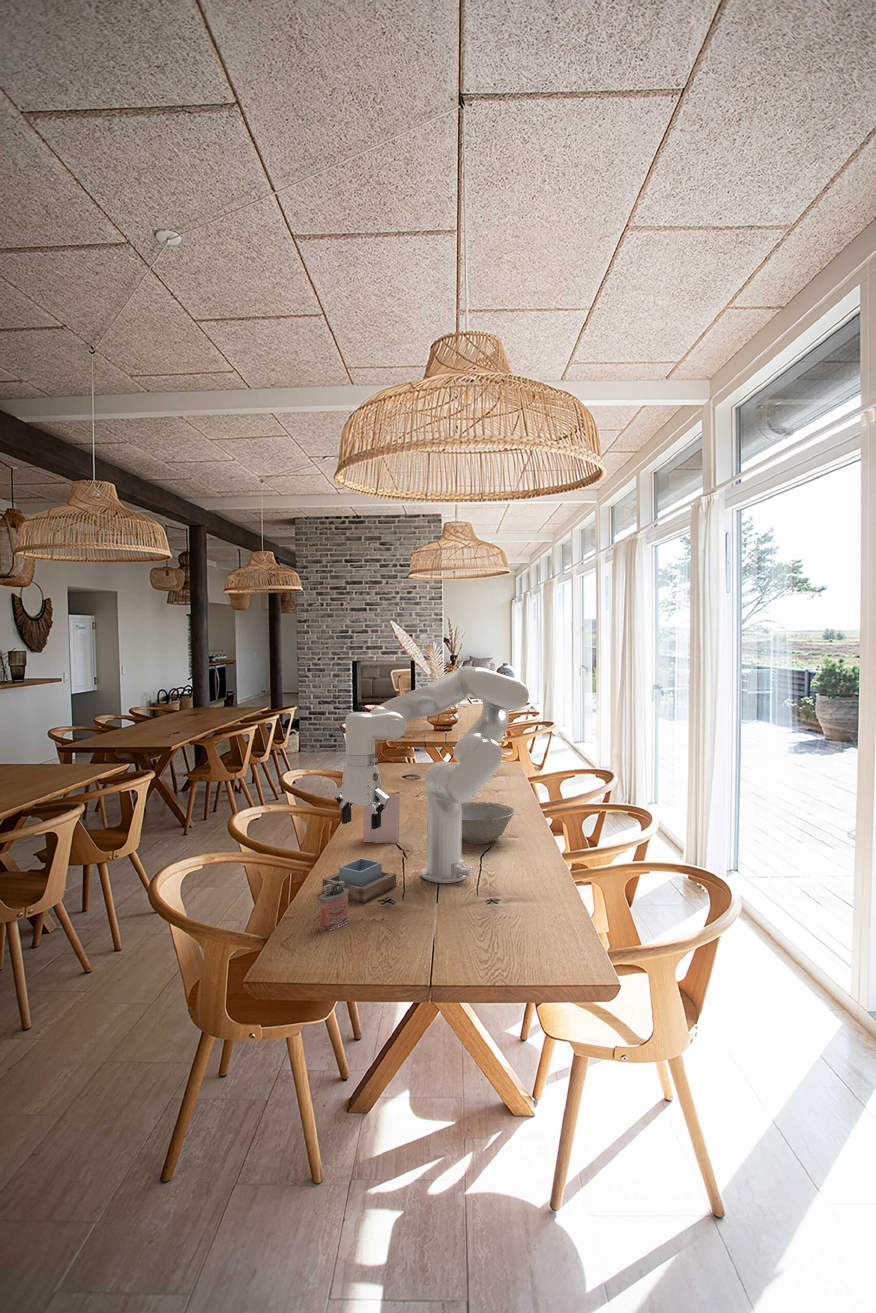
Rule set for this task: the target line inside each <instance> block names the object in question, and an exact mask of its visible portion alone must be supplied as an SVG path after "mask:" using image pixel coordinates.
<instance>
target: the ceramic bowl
mask: <svg viewBox="0 0 876 1313" xmlns="http://www.w3.org/2000/svg"><path fill="white" fill-rule="evenodd" d="M461 808H462V839H463V840H465V841H467V842H468V843H470V844H473V845H486V844H488V843H491V842H493V841H495V840H497V839H499V838H500V837H501V835H502V834H503V833H504V832H505V829H506V828H507V825H508V823H509V822H510V821H511V819H512V818H513V816H514V815H515V808H513V807H511V806H508V805H506V804H503V803H498V802H489V801H487V802H486V801H479V802H477V801H471V802H470V801H468V802H466V803H462V804H461Z"/></svg>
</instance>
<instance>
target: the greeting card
mask: <svg viewBox="0 0 876 1313" xmlns="http://www.w3.org/2000/svg"><path fill="white" fill-rule="evenodd" d="M384 794H385V795H387V796H388V797H389V801H388V803H387V806H386V808H385V809H384V810H383V812H381V827H379V828H377V829H372V828H371V815H372V814H373V812H372V810H371V808H370V807H369V806H365V805H363V818H362V819H363V821H362V822H363V827H362V828H363V830H362V831H363V832H362V833H363V835H362V836H363V837H362V838H363V842H374V843H381V844H383V843H385V844H386V843H387V844H388V843H389V844H390V843H391V844H393V843H395V844H396V843H397V844H399V843H400V795H394V794H389V793H384ZM379 803H380V804H381V802H379ZM375 807H376V806H375Z"/></svg>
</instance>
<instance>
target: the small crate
mask: <svg viewBox="0 0 876 1313" xmlns="http://www.w3.org/2000/svg"><path fill="white" fill-rule="evenodd" d="M382 866H383V865H382V862H380V861H376V860H372V859H368V858H363V857H360V858H357V859H354V860H353V861H350V862H348V863H346V864H343V865H342V866H341V865H340V866H338V872H339V881H344V883H346V884H350V885H354V886H358V887H363V886H365V885H367V884H369V883H371V882H373V881H375V880H378V879H380V878H382V871H383V870H382V868H383V867H382Z"/></svg>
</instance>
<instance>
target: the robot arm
mask: <svg viewBox="0 0 876 1313" xmlns="http://www.w3.org/2000/svg"><path fill="white" fill-rule="evenodd" d="M529 693H530V692H529V690H528V688H527V686H526V684H524V682H522V681H521V680H519V679H515V678H513V677H510V676H507V675H504V674H500V673H498V672H496V671H493V670H491V669H487V668H484V667H482V666H481V667H479V666H469V665H466V666H461V667H458V668H455V669H454V670H452V671H451V672H449V673H447V674H444V675H443V676H441V677H439V678H438V679H437V678H436V680H434V681H432V682H430V683H428V684H426V685H424V686H422V687H419V688H416V689H414V690H411V691H408V692H406V693H402V694H401V695H400V694H399V695H398V696H396V697H392V698H391V699H388V700H387V701H385V702H383V703H381V704H380V705H378V706H376V707H374V708H373V709H371V711H369V712H367V711H364V712H363V711H356V712H351V713H348V714H346V717H345V764H344V766H343V772H342V777H341V778H342V780H341V786H340V787H337V788H335V789H334V790H333V794H334V796H335V800H336V802H337V803H338V805H339V809H341V824H342V825H346V824H348V823H351V822H352V806H350V805H351V804H353V805H360V806H364V805H365V806H369V807H370V808H371V810H372V812H373V814H372V815H371V828H372V829H377V828H379V827H381V812H383V810H384V809H385V808H386V806H387V803H388V801H389V797H388V796H387V795H385V794H386V793H385V792H383V791H382V782H381V775H380V770H379V766H378V765H377V764H376V763H378V762H379V758H378V757H376V744H375V743H376V740H381V741H395V740H398V739H400V738H401V737H402V736H403V735H404V734H405V733H406V731H407V721H409V720H413V719H416V718H417V719H418V718H424V717H433V716H437V715H440V714H442V713H443V712H446V711H447V710H449V709H450V708H452V707H454V706H456V705H458V704H460V703H461V702H464V701H465V700H467V699H468V698H472V699H473V698H474V699H478V700H480V701H482V710H481V714H480V715H479V717H478V719H477V720H476V721H475V723H474V724H473V725H471V727H470V728H469V729H468V730H467V731H466V732H465V734H464V735H463V736H461V738H460V739H459V740H458V741H457V742H456V744H455V745H454V748H453V751H452V752H453V753H452V754H453V757H454V760H455V761H456V762H457V764H455V763H452V762H450V761H444V760H443V761H437V762H433V764H431V765H430V766H429V767H428V769H427V770H426V773H425V775H424V789H425V796H426V804H427V805H426V806H427V808H426V809H427V810H426V811H427V816H426V819H427V821H426V822H427V823H426V825H427V828H426V829H427V831H426V832H427V833H426V845H427V846H426V849H427V850H426V867H424V868H422V869H421V871H420V872H421V873H420V874H421V875H420V876H421V877H422V879H424V880H425V881H428V882H432V883H438V884H453V883H459V882H462V881H464V880H465V879H466V878H467V877H473V873H474V868H473V867H472V866H469V865H466V859H462V840H463V838H462V808H461V804H462V803H466V802H470V801H471V800H472V799H474V797H475V796H476V795H477V794H478V793H479V792H480V791H481V790H482V789H483V787H485V785H486V784H487V783H488V782H489V781H490V780H491V778H492V777H493V776H494V775H495V773H496V772H497V771H498V769H499V768H500V766H501V763H502V760H503V750H502V747H501V746H500V744H499V742H500V741H501V739H502V738H503V736H505V734H506V732H507V730H508V726H509V717H510V716H509V714H510V713H509V711H518V710H521V709H522V708H524V707H525V706H526V705H527V703H528V702H529V698H530V696H529V695H530V694H529ZM379 802H381V804H380V803H379ZM375 806H376V807H375Z"/></svg>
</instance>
